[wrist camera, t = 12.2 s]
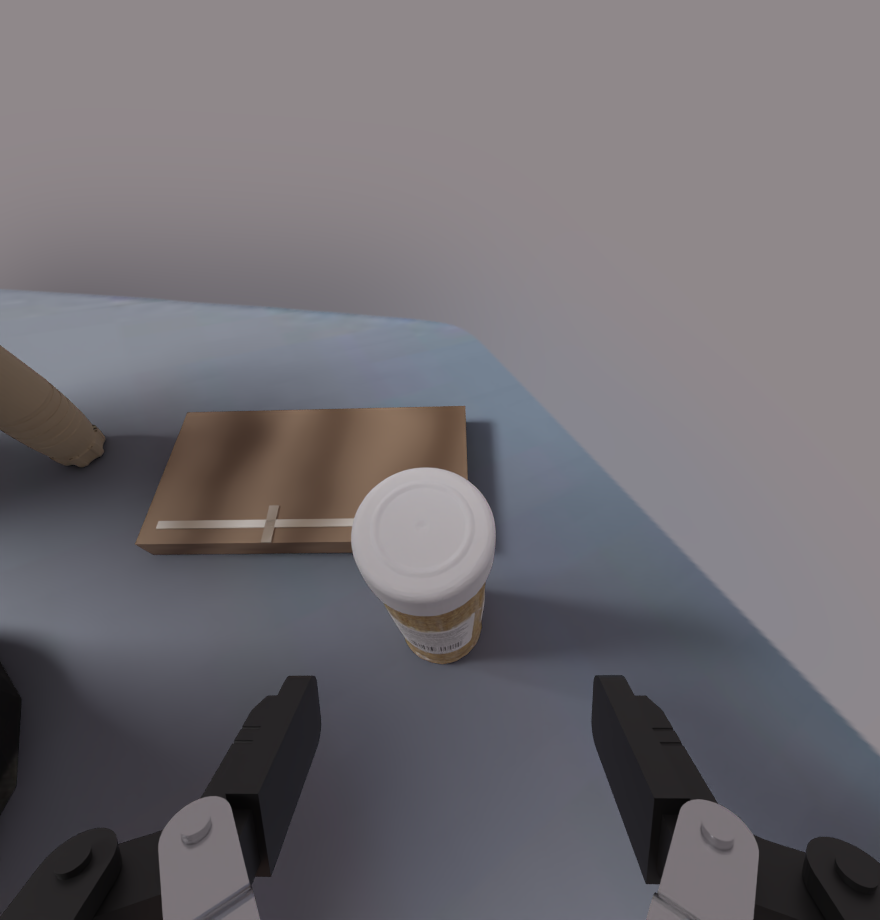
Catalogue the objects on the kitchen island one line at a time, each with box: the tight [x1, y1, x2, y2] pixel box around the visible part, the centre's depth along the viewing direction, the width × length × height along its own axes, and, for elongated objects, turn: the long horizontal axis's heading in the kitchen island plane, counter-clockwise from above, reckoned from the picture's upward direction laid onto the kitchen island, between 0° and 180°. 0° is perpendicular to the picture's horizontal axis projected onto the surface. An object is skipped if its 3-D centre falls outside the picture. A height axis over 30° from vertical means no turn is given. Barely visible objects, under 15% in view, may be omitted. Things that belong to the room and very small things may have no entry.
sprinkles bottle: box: [351, 467, 496, 664], centre depth 19 cm, size 5×5×14 cm
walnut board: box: [135, 406, 468, 555], centre depth 29 cm, size 20×10×2 cm, turn 90°
